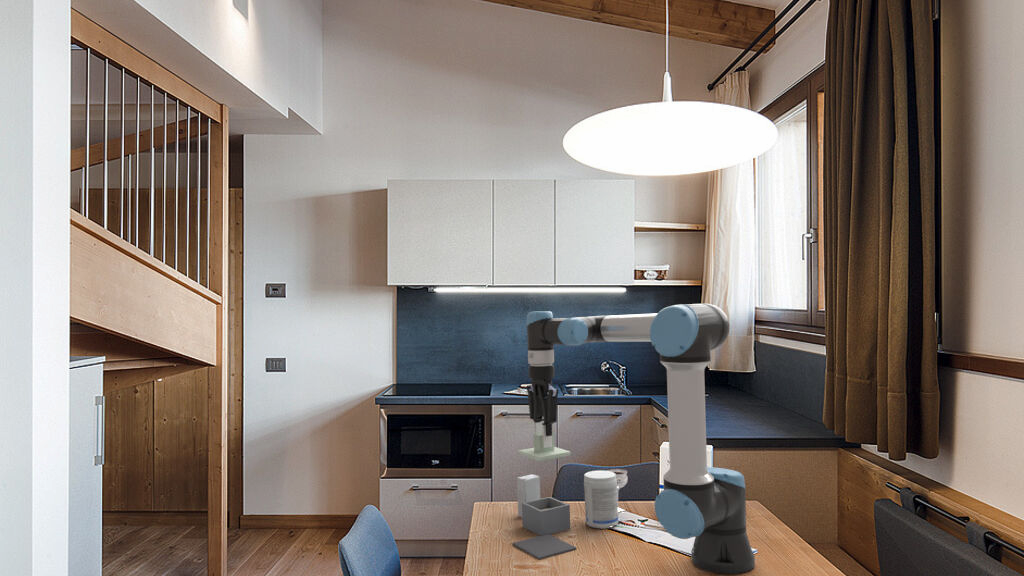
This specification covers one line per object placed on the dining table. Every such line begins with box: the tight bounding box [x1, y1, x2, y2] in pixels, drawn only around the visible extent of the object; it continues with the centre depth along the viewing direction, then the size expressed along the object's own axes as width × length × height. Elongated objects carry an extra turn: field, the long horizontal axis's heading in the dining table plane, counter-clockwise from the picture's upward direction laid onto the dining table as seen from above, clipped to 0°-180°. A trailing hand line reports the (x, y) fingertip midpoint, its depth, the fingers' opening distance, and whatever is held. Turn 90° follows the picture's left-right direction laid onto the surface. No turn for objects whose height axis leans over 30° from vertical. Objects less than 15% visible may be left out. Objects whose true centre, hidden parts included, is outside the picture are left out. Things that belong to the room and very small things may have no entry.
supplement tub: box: [583, 470, 619, 530], centre depth 202 cm, size 10×10×15 cm
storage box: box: [521, 496, 571, 536], centre depth 201 cm, size 10×10×7 cm
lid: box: [517, 432, 572, 463], centre depth 199 cm, size 11×11×7 cm
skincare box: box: [516, 473, 541, 518], centre depth 212 cm, size 6×4×12 cm
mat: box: [512, 534, 577, 560], centre depth 186 cm, size 13×12×1 cm
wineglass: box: [606, 468, 629, 512], centre depth 215 cm, size 7×7×12 cm
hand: (543, 445), depth 199 cm, fingers closed on lid, 3 cm apart
